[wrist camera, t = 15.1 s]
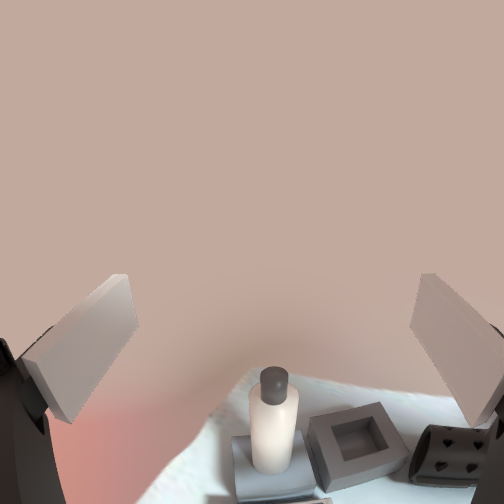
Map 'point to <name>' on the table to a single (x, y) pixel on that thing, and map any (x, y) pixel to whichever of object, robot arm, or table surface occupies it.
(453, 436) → the muzzle brake
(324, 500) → the handheld gaming device
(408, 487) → the table surface
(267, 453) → the white bottle
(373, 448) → the socket block
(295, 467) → the stand
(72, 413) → the robot arm
